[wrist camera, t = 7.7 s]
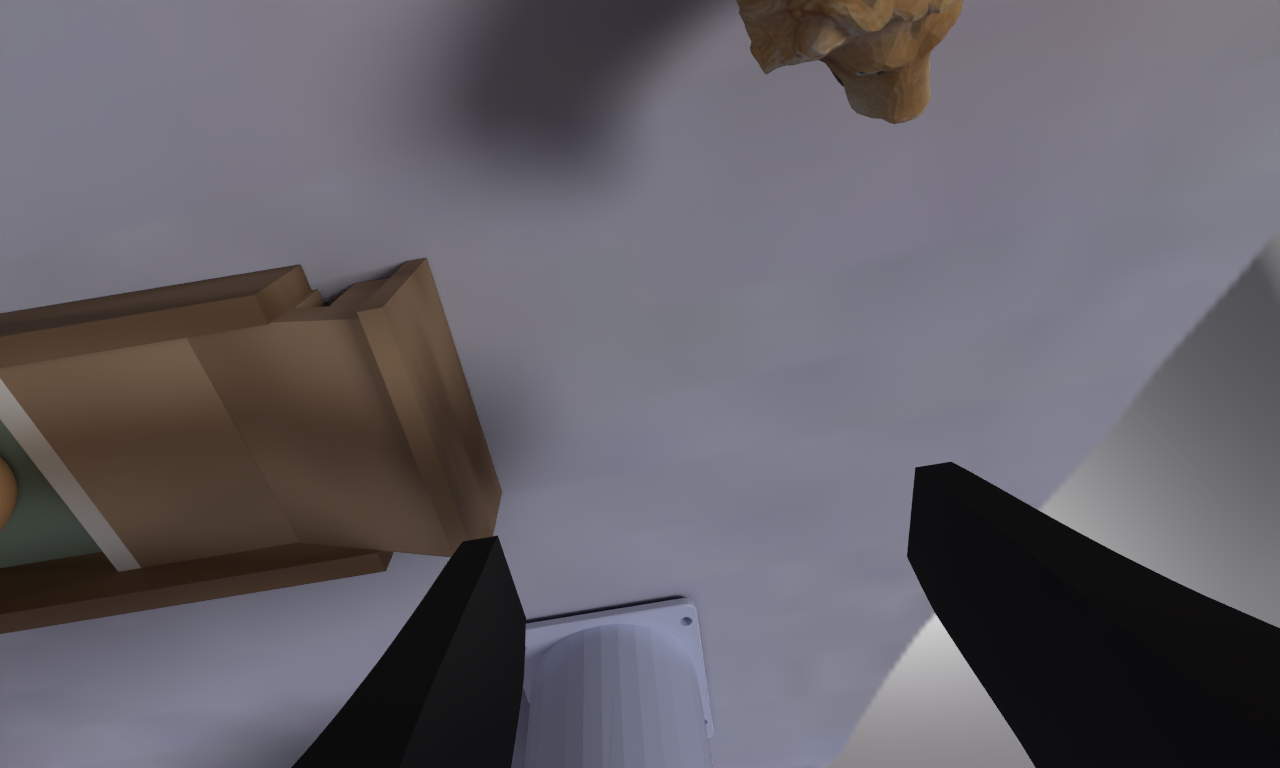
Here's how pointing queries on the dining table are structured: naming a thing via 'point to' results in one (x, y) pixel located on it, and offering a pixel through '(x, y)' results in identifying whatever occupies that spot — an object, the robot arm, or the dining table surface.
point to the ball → (7, 493)
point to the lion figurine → (856, 46)
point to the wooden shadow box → (231, 442)
